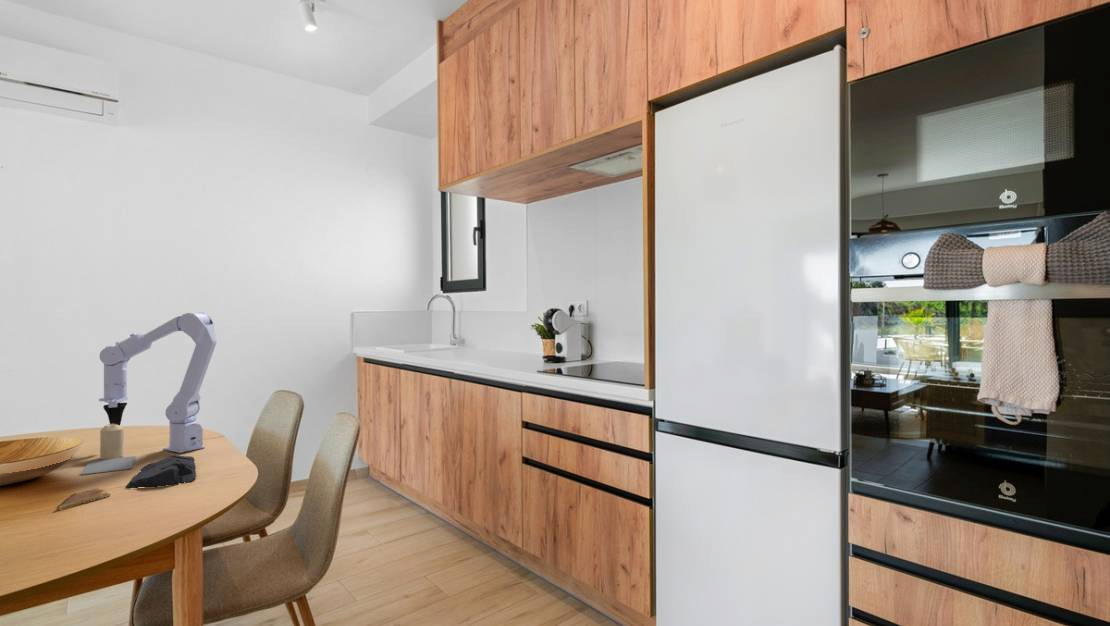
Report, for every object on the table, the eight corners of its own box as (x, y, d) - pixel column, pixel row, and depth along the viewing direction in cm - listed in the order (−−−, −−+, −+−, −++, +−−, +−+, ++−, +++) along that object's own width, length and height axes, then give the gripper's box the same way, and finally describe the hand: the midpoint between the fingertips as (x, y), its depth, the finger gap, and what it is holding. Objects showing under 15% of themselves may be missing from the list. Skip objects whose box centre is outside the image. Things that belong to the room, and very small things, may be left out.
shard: (56, 513, 124) (56, 505, 124) (38, 508, 127) (38, 500, 127) (111, 498, 134) (111, 491, 134) (93, 493, 137) (93, 486, 137)
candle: (126, 456, 168) (126, 423, 168) (104, 460, 163) (104, 427, 163) (119, 453, 171) (119, 421, 171) (97, 457, 166) (97, 424, 166)
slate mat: (89, 462, 161) (89, 461, 161) (136, 457, 168) (136, 456, 168) (80, 475, 149) (80, 474, 149) (131, 469, 155) (131, 468, 155)
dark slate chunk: (203, 463, 164) (203, 447, 164) (194, 485, 144) (194, 467, 144) (139, 469, 157) (139, 453, 157) (121, 493, 137) (121, 474, 137)
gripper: (102, 381, 178) (102, 423, 178) (95, 387, 166) (95, 432, 166) (129, 380, 182) (129, 421, 182) (125, 386, 170) (125, 430, 170)
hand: (115, 426), depth 174 cm, fingers closed
